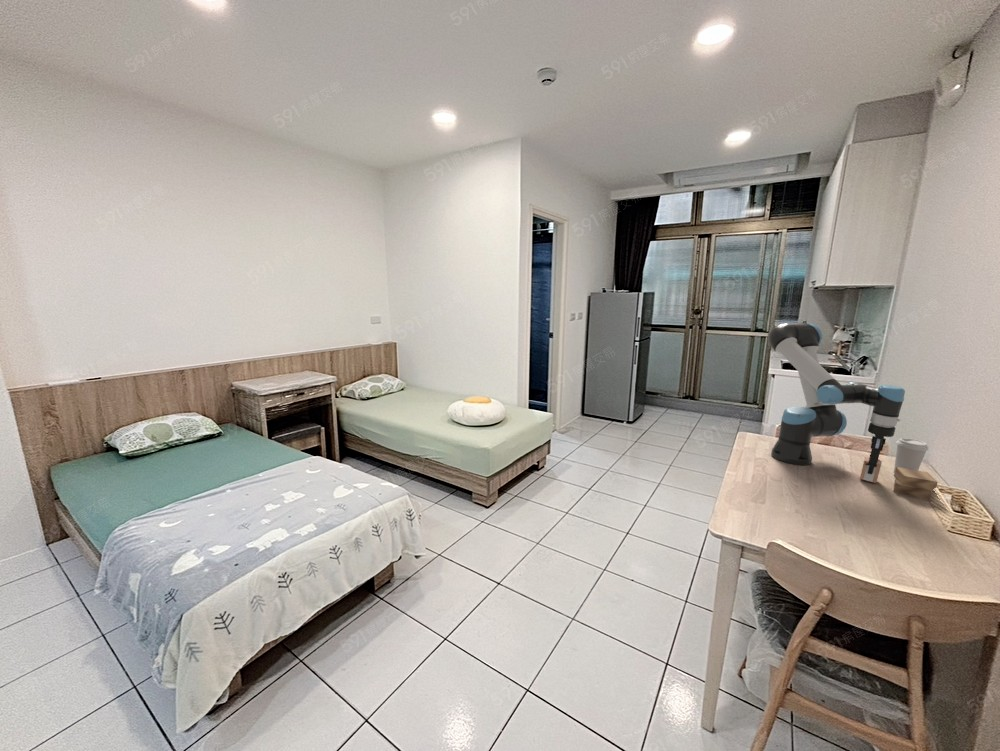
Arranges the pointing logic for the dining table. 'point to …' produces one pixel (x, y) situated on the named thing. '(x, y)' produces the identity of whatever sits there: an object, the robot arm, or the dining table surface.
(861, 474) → the terracotta block
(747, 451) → the dining table surface
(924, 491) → the slab bottom
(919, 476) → the slab top
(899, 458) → the coffee cup
